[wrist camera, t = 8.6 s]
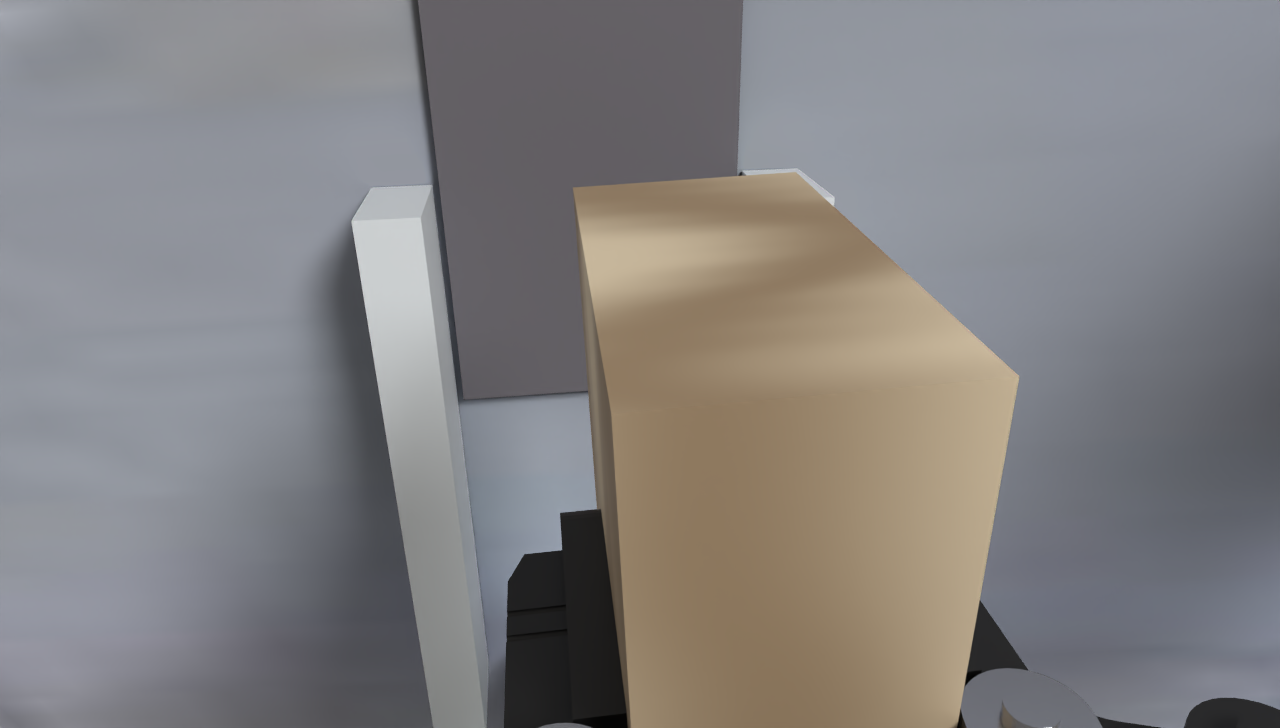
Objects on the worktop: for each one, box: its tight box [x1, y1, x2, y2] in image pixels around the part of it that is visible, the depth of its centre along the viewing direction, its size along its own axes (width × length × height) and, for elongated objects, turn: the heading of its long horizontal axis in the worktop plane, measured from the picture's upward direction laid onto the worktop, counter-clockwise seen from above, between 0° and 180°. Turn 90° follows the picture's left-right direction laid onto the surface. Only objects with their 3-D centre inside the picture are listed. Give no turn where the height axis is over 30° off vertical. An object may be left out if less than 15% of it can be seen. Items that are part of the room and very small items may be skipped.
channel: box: [351, 0, 835, 728], centre depth 23 cm, size 11×21×3 cm, turn 1°
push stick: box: [573, 172, 1019, 728], centre depth 11 cm, size 3×10×6 cm, turn 2°
